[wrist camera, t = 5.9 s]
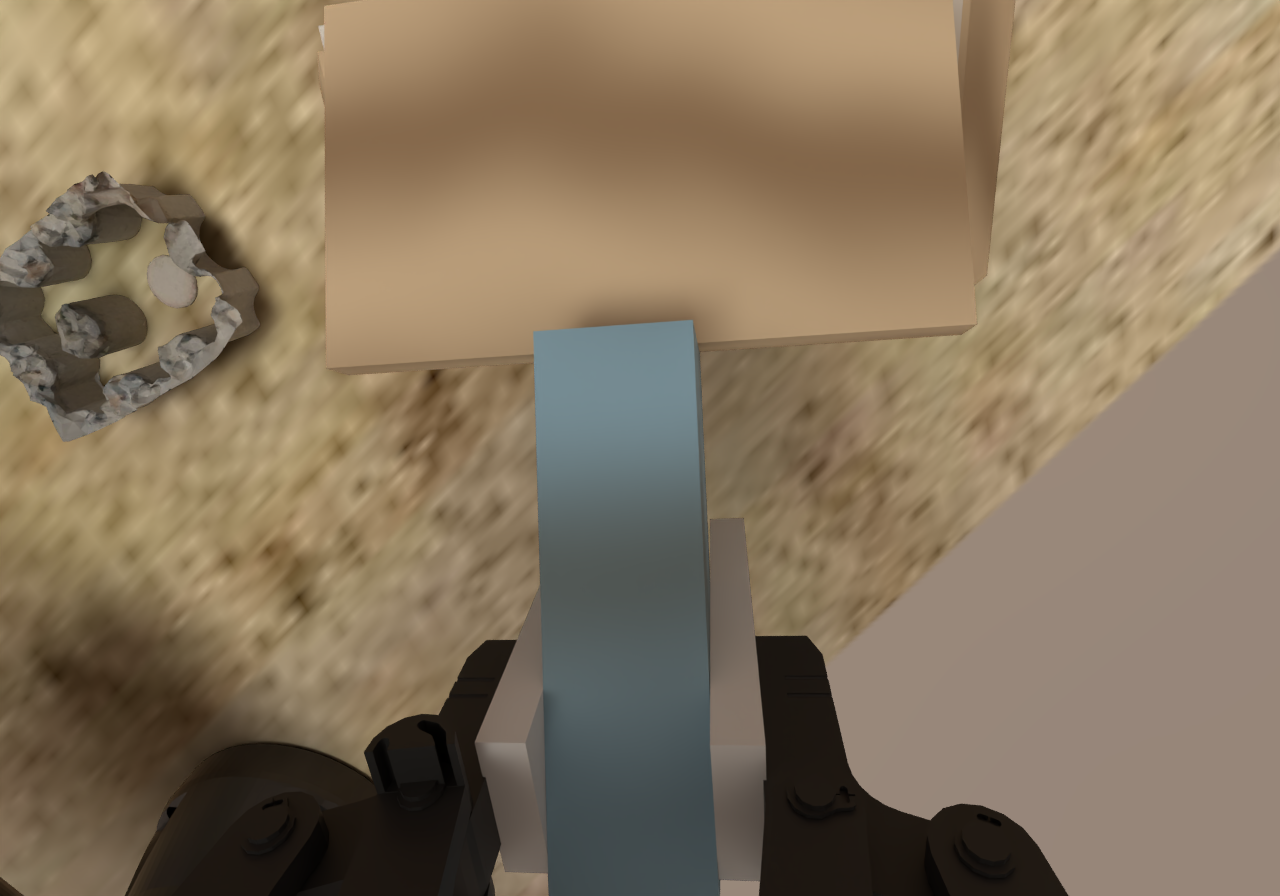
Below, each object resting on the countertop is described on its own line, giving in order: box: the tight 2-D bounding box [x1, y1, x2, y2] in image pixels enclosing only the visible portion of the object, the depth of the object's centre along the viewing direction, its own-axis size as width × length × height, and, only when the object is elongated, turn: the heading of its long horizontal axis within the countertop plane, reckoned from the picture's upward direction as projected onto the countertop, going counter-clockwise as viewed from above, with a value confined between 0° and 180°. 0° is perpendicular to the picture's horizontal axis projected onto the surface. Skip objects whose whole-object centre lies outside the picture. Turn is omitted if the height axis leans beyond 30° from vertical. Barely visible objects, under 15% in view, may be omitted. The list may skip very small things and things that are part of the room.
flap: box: [324, 0, 977, 896], centre depth 12 cm, size 17×13×3 cm
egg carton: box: [0, 172, 260, 441], centre depth 27 cm, size 11×8×4 cm
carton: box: [318, 0, 1015, 286], centre depth 20 cm, size 8×19×10 cm, turn 96°
